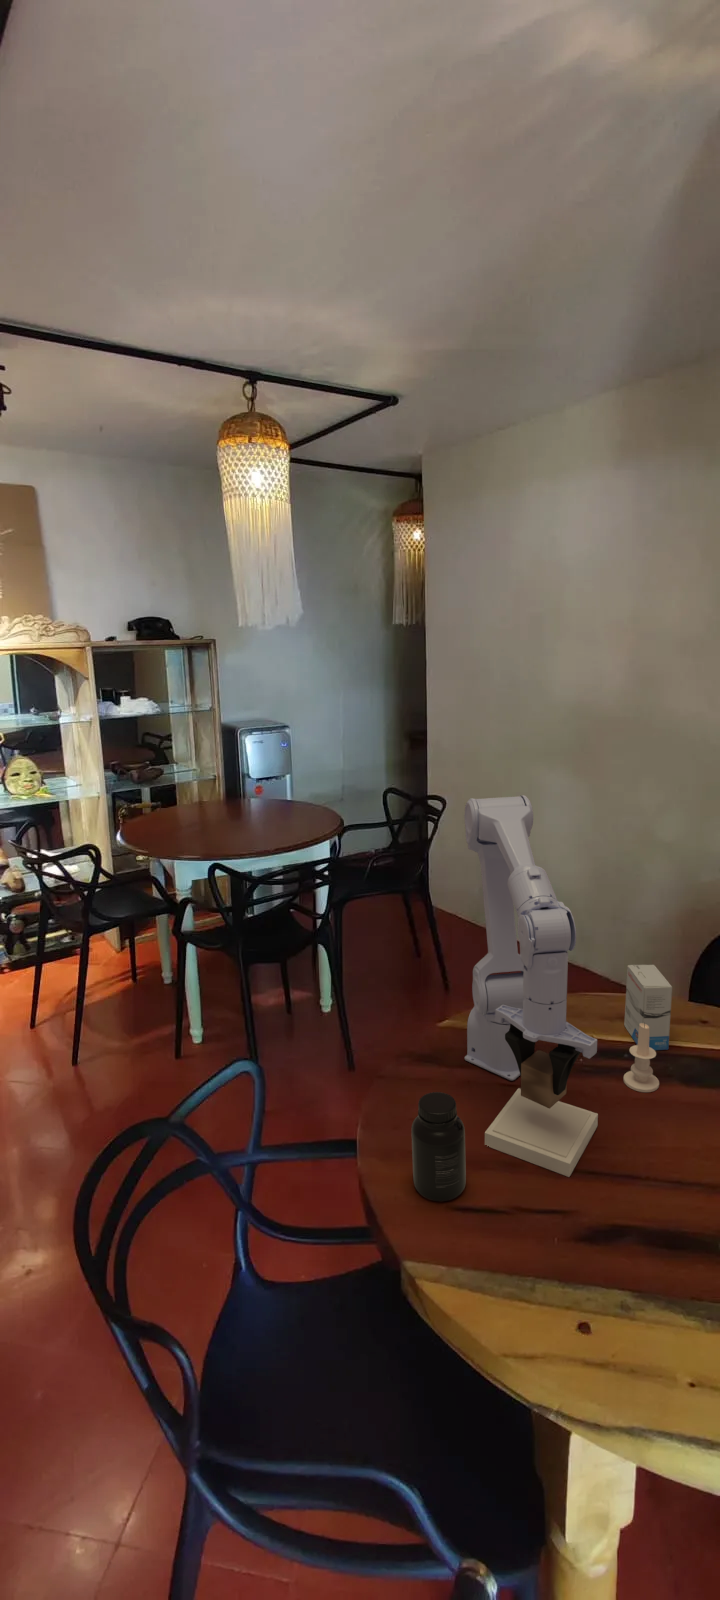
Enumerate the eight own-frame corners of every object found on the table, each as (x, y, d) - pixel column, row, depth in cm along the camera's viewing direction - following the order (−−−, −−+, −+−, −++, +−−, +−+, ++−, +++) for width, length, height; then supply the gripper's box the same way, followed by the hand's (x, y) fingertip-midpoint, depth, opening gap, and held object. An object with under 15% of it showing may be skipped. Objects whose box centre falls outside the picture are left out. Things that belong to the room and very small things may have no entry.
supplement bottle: (470, 1171, 101) (470, 1091, 98) (459, 1208, 95) (459, 1124, 92) (420, 1161, 103) (418, 1083, 100) (406, 1197, 97) (404, 1114, 94)
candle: (653, 1073, 121) (657, 1013, 118) (663, 1093, 116) (667, 1031, 113) (619, 1072, 121) (622, 1013, 119) (627, 1092, 116) (631, 1030, 114)
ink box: (669, 1050, 127) (673, 986, 124) (639, 1051, 127) (643, 986, 124) (651, 1024, 135) (654, 963, 132) (623, 1025, 135) (626, 963, 132)
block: (520, 1095, 106) (521, 1063, 105) (537, 1081, 109) (538, 1049, 108) (549, 1108, 103) (550, 1075, 102) (566, 1093, 106) (567, 1061, 105)
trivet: (484, 1145, 106) (484, 1131, 105) (518, 1099, 115) (518, 1086, 115) (569, 1177, 99) (569, 1162, 99) (597, 1126, 109) (598, 1112, 108)
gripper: (482, 988, 104) (482, 1076, 108) (579, 1023, 95) (576, 1119, 98) (511, 971, 109) (510, 1055, 112) (606, 1002, 100) (602, 1094, 103)
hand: (543, 1084), depth 105 cm, fingers closed on block, 4 cm apart
